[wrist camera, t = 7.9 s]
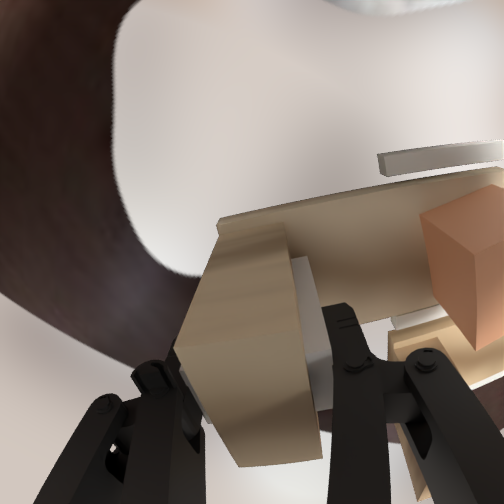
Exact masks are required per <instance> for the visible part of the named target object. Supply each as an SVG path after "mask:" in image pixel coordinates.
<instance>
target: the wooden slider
mask: <svg viewBox="0 0 504 504" xmlns="http://www.w3.org/2000/svg"><path fill="white" fill-rule="evenodd" d="M490 184H493V185H496V186H499V187H501V188H504V169H503V168H500V167H489V168H482V169H475V170H468V171H461V172H455V173H448V174H442V175H437V176H430V177H423V178H417V179H412V180H406V181H400V182H394V183H389V184H383V185H378V186H372V187H367V188H361V189H356V190H351V191H345V192H340V193H335V194H330V195H325V196H320V197H315V198H310V199H305V200H300V201H296V202H291V203H286V204H281V205H277V206H272V207H267V208H263V209H258V210H254V211H250V212H245V213H240V214H236V215H232V216H227V217H223V218H220V219H219V221H218V223H217V225H216V226H217V230H218V234H219V237H218V240H217V242H216V244H215V247H214V249H213V251H212V254H211V256H210V258H209V261H208V263H207V266H206V268H205V270H204V273H203V275H202V278H201V280H200V282H199V285H198V287H197V290H196V292H195V295H194V297H193V300H192V302H191V304H190V307H189V309H188V312H187V314H186V317H185V319H184V322H183V324H182V327H181V330H180V332H179V335H178V337H177V340H176V342H175V345H174V347H173V348H174V350H175V353H176V355H177V357H178V359H179V361H180V363H181V365H182V367H183V369H184V371H185V373H186V375H187V377H188V379H189V381H190V383H191V385H192V387H193V388H194V390H195V392H196V394H197V396H198V398H199V400H200V402H201V403H202V405H203V407H204V409H205V411H206V413H207V414H208V416H209V418H210V420H211V422H212V423H213V425H214V427H215V428H216V430H217V432H218V434H219V435H220V437H221V439H222V440H223V442H224V444H225V445H226V447H227V449H228V451H229V452H230V454H231V456H232V457H233V459H234V460H235V462H236V464H237V465H238V467H255V466H267V465H278V464H286V463H295V462H302V461H309V460H316V459H322V458H323V456H322V447H321V439H320V430H319V422H318V414H317V411H316V410H315V404H314V399H313V393H312V388H311V382H310V377H309V372H308V367H307V361H306V356H305V350H304V343H303V335H302V328H301V321H300V314H299V307H298V300H297V294H296V287H295V281H294V274H293V268H292V262H291V259H294V258H299V257H304V256H307V257H308V261H309V264H310V268H311V271H312V275H313V279H314V283H315V286H316V290H317V294H318V298H319V301H320V305H321V307H324V306H329V305H334V304H338V303H343V302H345V303H347V304H348V305H349V306H351V307H352V308H353V309H354V312H355V314H356V317H357V319H358V322H359V325H360V324H364V323H368V322H373V321H377V320H381V319H384V318H389V317H393V316H397V315H400V314H404V313H408V312H412V311H415V310H419V309H422V308H426V307H429V306H433V305H436V304H439V303H438V301H437V300H436V299H435V298H434V296H433V288H432V281H431V274H430V268H429V262H428V256H427V251H426V245H425V240H424V235H423V230H422V226H421V221H420V217H419V214H421V213H424V212H426V211H429V210H431V209H434V208H436V207H438V206H441V205H443V204H446V203H448V202H450V201H453V200H455V199H458V198H460V197H462V196H465V195H467V194H469V193H472V192H474V191H476V190H479V189H481V188H483V187H486V186H488V185H490Z"/></svg>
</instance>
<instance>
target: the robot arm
mask: <svg viewBox="0 0 504 504" xmlns="http://www.w3.org/2000/svg"><path fill="white" fill-rule="evenodd" d="M291 262H292V268H293V274H294V281H295V287H296V294H297V300H298V307H299V314H300V321H301V328H302V335H303V343H304V350H305V356H306V361H307V367H308V372H309V377H310V382H311V388H312V393H313V399H314V404H315V410H316V411H322V410H327V409H332V408H333V420H332V443H331V459H330V474H329V487H328V497H327V504H391V485H390V466H389V450H388V438H387V427H386V423H400V425H401V427H402V430H403V432H404V434H405V436H406V438H407V440H408V443H409V445H410V447H411V449H412V452H413V454H414V456H415V458H416V461H417V463H418V465H419V468H420V470H421V472H422V475H423V477H424V479H425V482H426V484H427V487H428V489H429V491H430V494H431V496H432V499H433V501H434V504H504V437H503V436H502V434H501V433H500V431H499V430H498V428H497V427H496V425H495V424H494V422H493V421H492V419H491V418H490V416H489V415H488V413H487V412H486V410H485V409H484V407H483V406H482V404H481V403H480V401H479V400H478V399H477V397H476V396H475V394H474V393H473V391H472V390H471V389H470V387H469V386H468V385H467V383H466V382H465V380H464V379H463V378H462V376H461V375H460V374H459V372H458V371H457V370H456V368H455V367H454V366H453V364H452V363H451V362H450V360H449V359H448V358H447V356H446V355H445V354H444V353H443V352H441V351H440V350H437V349H435V348H426V347H425V348H420V349H417V350H415V351H413V352H411V353H410V354H409V355H408V356H407V358H406V361H385V360H381V359H379V358H377V357H376V356H375V355H374V354H373V353H371V352H370V350H369V347H368V345H367V342H366V339H365V337H364V334H363V332H362V329H361V327H360V325H359V322H358V319H357V317H356V314H355V312H354V309H353V308H352V307H351V306H349V305H348V304H347V303H345V302H343V303H338V304H334V305H329V306H324V307H321V305H320V301H319V298H318V294H317V290H316V286H315V283H314V279H313V275H312V271H311V268H310V264H309V261H308V257H307V256H304V257H299V258H294V259H291ZM177 337H178V336H177ZM177 337H176V338H175V339H174V340H173V343H172V345H171V348H170V350H169V353H168V355H167V356H168V357H167V358H166V360H165V362H164V361H161V360H150V361H147V362H144V363H143V364H141V365H139V366H138V367H137V368H136V369H135V370H134V371H133V372H132V374H131V378H132V380H133V381H134V383H135V385H136V386H137V387H138V389H139V391H140V392H141V397H138V398H135V399H131V400H128V401H124V402H122V400H121V399H120V398H119V396H117V395H116V394H112V393H111V394H105V395H102V396H100V397H98V398H97V399H96V400H94V402H93V403H92V404H91V406H90V407H89V408H88V410H87V412H86V413H85V415H84V417H83V418H82V420H81V421H80V423H79V425H78V426H77V428H76V430H75V431H74V433H73V435H72V436H71V438H70V440H69V441H68V443H67V445H66V446H65V448H64V450H63V452H62V453H61V455H60V456H59V458H58V460H57V462H56V463H55V465H54V467H53V469H52V470H51V472H50V474H49V476H48V477H47V479H46V481H45V483H44V485H43V486H42V488H41V490H40V492H39V494H38V495H37V498H36V499H35V501H34V503H33V504H206V481H205V432H204V429H203V427H202V426H201V420H202V416H204V418H205V420H206V422H207V423H208V424H213V423H212V422H211V420H210V418H209V416H208V414H207V413H206V411H205V409H204V407H203V405H202V403H201V402H200V400H199V398H198V396H197V394H196V392H195V390H194V388H193V387H192V385H191V383H190V381H189V379H188V377H187V375H186V373H185V371H184V369H183V367H182V365H181V363H180V361H179V359H178V357H177V355H176V353H175V350H174V348H173V347H174V345H175V342H176V340H177ZM112 444H114V445H115V446H116V449H115V450H114V452H111V451H110V448H111V446H112Z"/></svg>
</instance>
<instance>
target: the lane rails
mask: <svg viewBox="0 0 504 504" xmlns="http://www.w3.org/2000/svg"><path fill="white" fill-rule="evenodd" d="M377 156H378V162H379V169H380V173H381V174H382V175H384V176H386V177H390V176H395V175H401V174H407V173H413V172H420V171H426V170H432V169H439V168H445V167H452V166H460V165H467V164H473V163H482V162H489V161H498V160H504V139H503V140H490V141H477V142H468V143H457V144H448V145H440V146H432V147H424V148H416V149H409V150H401V151H394V152H388V153H381V154H377ZM445 316H448V314H447V313H446V311H445V310H444V309H443V308H442V306H441V305H440V304H436V305H433V306H429V307H426V308H422V309H419V310H415V311H412V312H408V313H404V314H400V315H397V316H393V317H391V322H392V324H393V326H394V328H395V330H400V329H404V328H407V327H411V326H415V325H418V324H421V323H425V322H428V321H432V320H435V319H438V318H441V317H445ZM502 376H504V370H503V371H501V372H499V373H497V374H495V375H493V376H491V377H488V378H486V379H484V380H482V381H479V382H477V383H475V384H472V385H470V386H469V387H470V389H471V390H473V389H475V388H478V387H480V386H482V385H484V384H487V383H489V382H491V381H493V380H495V379H498V378H500V377H502Z"/></svg>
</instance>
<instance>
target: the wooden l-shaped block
mask: <svg viewBox="0 0 504 504" xmlns="http://www.w3.org/2000/svg"><path fill="white" fill-rule="evenodd" d="M425 347H426V348H435V349H437V350H440V351H441V352H443V353H444V354H445V355H446V356H447V358H448V359H449V360H450V362H451V363H452V364H453V366H454V367H455V368H456V370H457V371H458V372H459V374H460V375H461V376H462V378H463V379H464V380H465V382H466V383H467V385H468V386H470V385H472V384H475V383H477V382H479V381H482V380H484V379H486V378H488V377H491V376H493V375H495V374H497V373H499V372H501V371H503V370H504V336H502V337H501V338H499V339H497V340H495V341H494V342H492V343H490V344H489V345H487V346H485V347H483V348H481V349H480V350H478V351H475V350H474V349H473V347H472V346H471V344H470V343H469V342H468V340H467V339H466V338H465V336H464V335H463V334H462V332H461V331H460V330H459V328H458V327H457V326H456V324H455V323H454V322H453V320H452V319H451V318H450V316H449V315H448V316H445V317H441V318H438V319H435V320H432V321H428V322H425V323H421V324H418V325H415V326H411V327H407V328H404V329H400V330H392V331H388V360H387V361H406V358H407V356H408V355H409V354H410V353H411V352H413V351H415V350H417V349H420V348H425ZM394 424H395V427H396V430H397V433H398V436H399V440H400V443H401V446H402V449H403V452H404V456H405V459H406V463H407V466H408V469H409V473H410V477H411V480H412V484H413V487H414V491H415V494H416V499H417V502H419V501H422V500H424V499H427V498H430V497H432V496H431V494H430V491H429V489H428V487H427V484H426V482H425V479H424V477H423V475H422V472H421V470H420V468H419V465H418V463H417V461H416V458H415V456H414V454H413V452H412V449H411V447H410V445H409V443H408V440H407V438H406V436H405V434H404V432H403V430H402V427H401V425H400V423H394Z"/></svg>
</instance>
